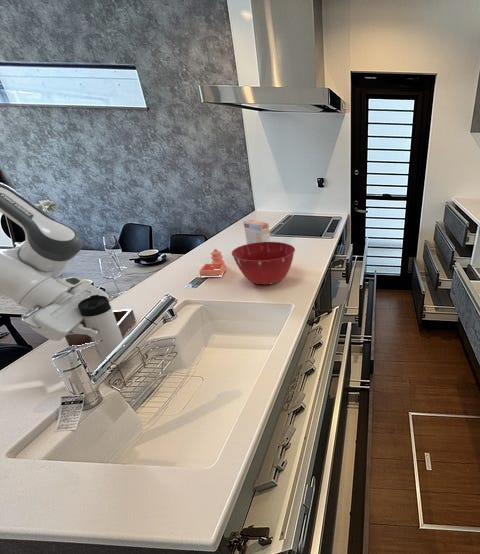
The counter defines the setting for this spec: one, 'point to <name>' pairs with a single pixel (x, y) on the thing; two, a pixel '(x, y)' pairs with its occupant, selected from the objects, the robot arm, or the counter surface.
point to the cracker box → (256, 231)
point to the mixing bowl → (264, 261)
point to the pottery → (213, 265)
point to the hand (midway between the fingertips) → (105, 326)
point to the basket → (123, 320)
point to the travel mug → (101, 324)
